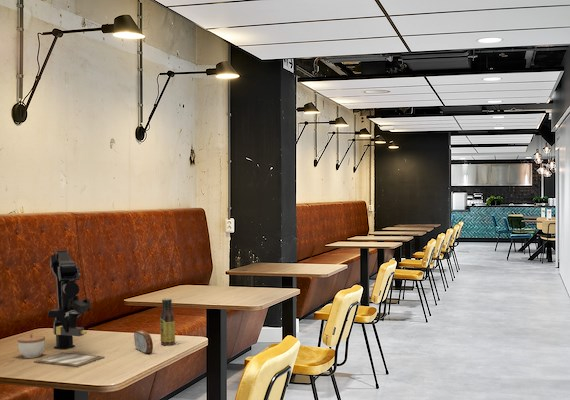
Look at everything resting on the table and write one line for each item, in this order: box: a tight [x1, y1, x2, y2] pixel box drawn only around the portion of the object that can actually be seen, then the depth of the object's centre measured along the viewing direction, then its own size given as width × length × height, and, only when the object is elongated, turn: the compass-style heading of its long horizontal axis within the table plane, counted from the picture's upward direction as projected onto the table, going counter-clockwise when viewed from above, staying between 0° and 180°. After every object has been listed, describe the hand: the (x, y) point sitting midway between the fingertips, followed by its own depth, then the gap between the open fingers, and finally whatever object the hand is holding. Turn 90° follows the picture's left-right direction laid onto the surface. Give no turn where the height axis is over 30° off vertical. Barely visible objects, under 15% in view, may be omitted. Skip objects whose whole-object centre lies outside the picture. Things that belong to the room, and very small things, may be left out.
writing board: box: [33, 351, 105, 368], centre depth 297 cm, size 22×16×1 cm
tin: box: [133, 329, 154, 354], centre depth 309 cm, size 15×3×8 cm, turn 32°
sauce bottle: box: [159, 297, 176, 346], centre depth 322 cm, size 6×6×20 cm
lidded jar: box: [17, 333, 46, 359], centre depth 305 cm, size 11×11×9 cm
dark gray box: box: [55, 326, 88, 337], centre depth 303 cm, size 14×3×3 cm, turn 64°
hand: (69, 331), depth 303 cm, fingers closed on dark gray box, 3 cm apart
